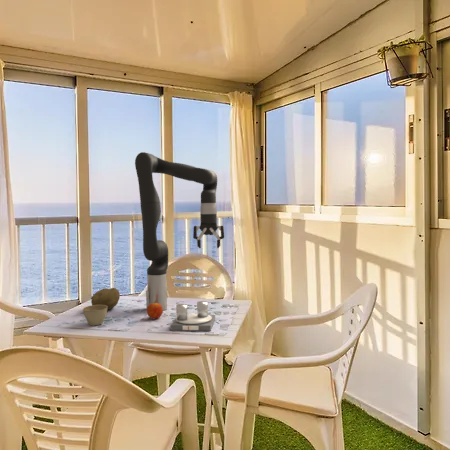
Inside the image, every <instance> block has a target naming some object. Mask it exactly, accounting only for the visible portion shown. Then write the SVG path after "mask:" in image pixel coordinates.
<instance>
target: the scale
mask: <svg viewBox="0 0 450 450" xmlns="http://www.w3.org/2000/svg"><path fill="white" fill-rule="evenodd" d="M187 318H188V319H187V320H185V321H178V320H177V316H176V317H175V319H174V320H173V322H172V323H171V324H170V331H174V332H175V331H177V332H178V331H181V332H182V331H184V332H185V331H187V332H192V331H193V332H195V331H196V332H211V331H212V329H213V326H214V323H215V321H216V314H208V317H205V318H199V317H197V312H195V313H193V312H192V313H187Z"/></svg>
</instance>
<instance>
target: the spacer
mask: <svg viewBox="0 0 450 450" xmlns="http://www.w3.org/2000/svg"><path fill="white" fill-rule="evenodd" d="M196 304H197V305H196V306H197V307H196V311H197V312H196V313H197V317H199V318H205V317H208V315H209V302H208V301H206V300H200V301H197V302H196Z"/></svg>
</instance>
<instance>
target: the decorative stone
mask: <svg viewBox="0 0 450 450" xmlns="http://www.w3.org/2000/svg"><path fill="white" fill-rule="evenodd" d="M120 296H121V295H120V291H119V290H118V288H116V287H110V288H102V289H100V290H98V291H96V292H95V293H94V294H93V295H91V300H90V301H91V305H106V306H107V307H108V308H107V311H108V310H110V309H113V308H114V307H116V306H117V305H118V303H119V301H120Z"/></svg>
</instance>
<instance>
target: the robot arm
mask: <svg viewBox="0 0 450 450" xmlns="http://www.w3.org/2000/svg"><path fill="white" fill-rule="evenodd" d="M134 161H135V162H134V166H135V171H136V176H137V181H138V192H139V200H140V212H141V219H142V250H143V251H142V252H143V255H144V257H145V259H146V260H147V261H151V264H150V266H148V267H147V269H146V278H147V279H146V280H147V281H146V283H147V289H146V291H145V296H146V297H145V298H146V303H145V306H146V309H147V308H148V306H149V305H150V304H151V303H159V304H160V305H161V306H162V308H163V312H164V311H166V310H167V309H168V298H167V297H168V287H167V285H168V284H167V282H168V281H167V277H168V275H167V270H168V267H169V247H168V244H167V243H166V242H165V241H164V240H160V239H159V240H158V238H157V237H158V235H157V229H158V225H159V221H160V218H161V214H162V210H161V200H160V196H159V194H158V191H157V188H156V186H155V183H154V177H153V174H164V175H168V176H172V177H174V178H176V179H181V180H185V181H189V182H194V183H197V184H201V185H202V187H203V188H202V191H201V192H200V209H199V210H200V215H199V217H200V225H193V235H192V236H193V239H194V240H196V241H197V242H196V244H197V247H198V248H199V249H201V248H202V244H201V243H202V241H201V238H203V236H208V235H209V236H213V235H214V237H215V238H216V249H219V248H221V240H224V239H225V227H224V225H218V224H217V223H218V221H217V220H218V217H217V213H218V209H217V198H216V197H217V195H216V194H217V188H218V187H217V186H218V176H217V173H216V172H215V171H214V170H211V169H207V168H202V167H196V166H193V165H190V164H187V163H186V164H185V163H180V162H174V161H169V160H164V159H162V158H160V157H157V156H155V155H154V154H152V153H149V152H145V151H144V152H142V151H141V152H140V153H138V154H137V155H136V157H135V160H134ZM199 229H200V234H199V235H198V234H197V233H198V231H199ZM217 230H219V231H220V234H218V233H217ZM197 235H198V236H197ZM155 301H156V302H155Z"/></svg>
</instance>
